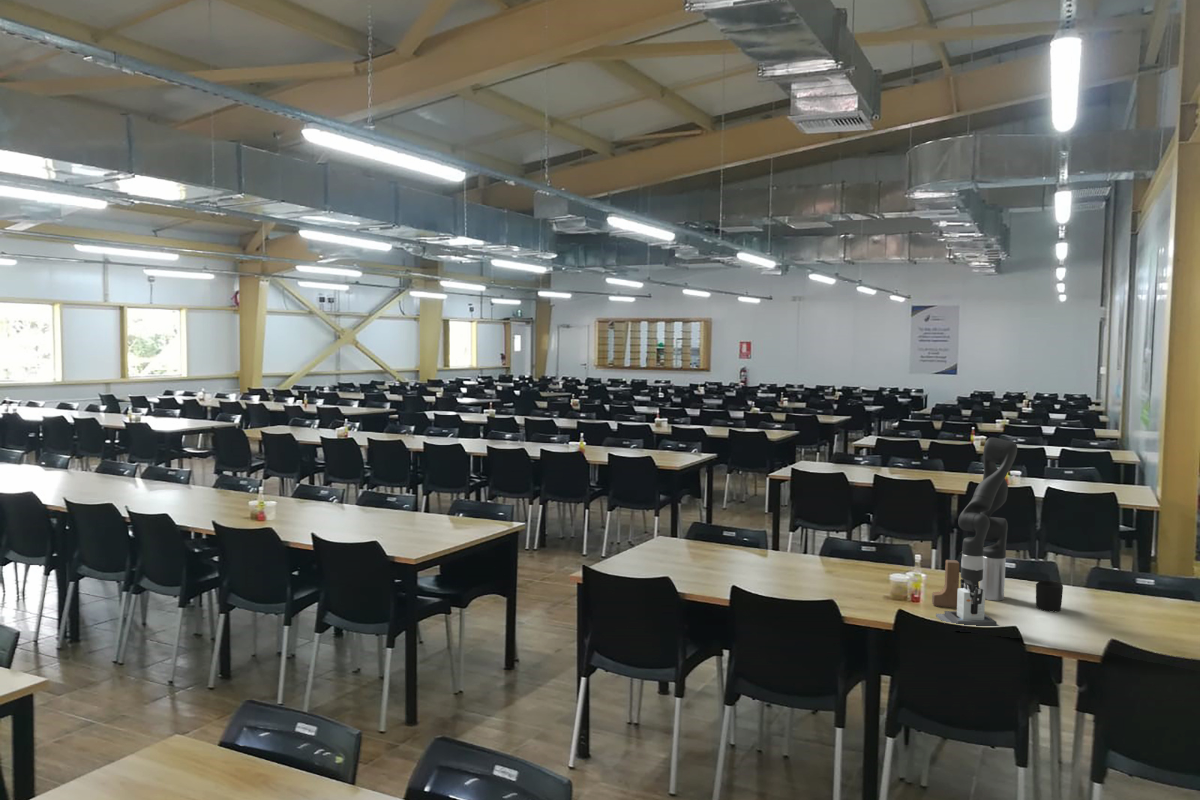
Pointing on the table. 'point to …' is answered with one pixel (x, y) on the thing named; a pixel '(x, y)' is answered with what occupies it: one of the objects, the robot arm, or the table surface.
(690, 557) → the table surface
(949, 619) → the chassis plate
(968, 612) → the small box
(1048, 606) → the pen holder
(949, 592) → the wooden block
